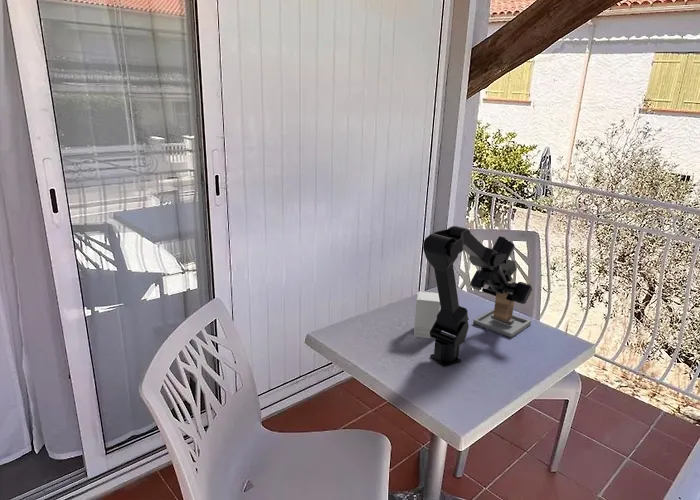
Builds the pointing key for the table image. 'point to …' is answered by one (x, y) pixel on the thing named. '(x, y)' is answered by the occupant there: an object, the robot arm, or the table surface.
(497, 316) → the tan slab
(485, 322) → the box
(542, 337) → the table surface
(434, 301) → the supplement box
